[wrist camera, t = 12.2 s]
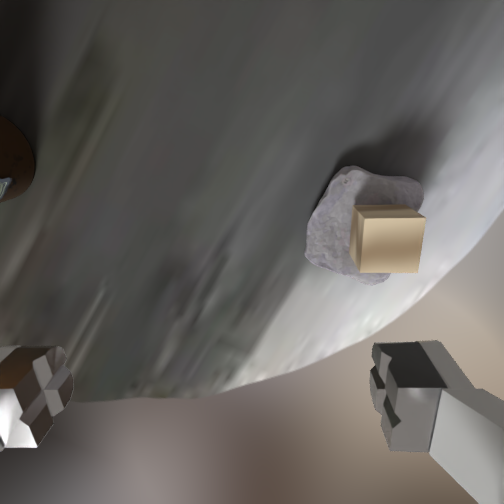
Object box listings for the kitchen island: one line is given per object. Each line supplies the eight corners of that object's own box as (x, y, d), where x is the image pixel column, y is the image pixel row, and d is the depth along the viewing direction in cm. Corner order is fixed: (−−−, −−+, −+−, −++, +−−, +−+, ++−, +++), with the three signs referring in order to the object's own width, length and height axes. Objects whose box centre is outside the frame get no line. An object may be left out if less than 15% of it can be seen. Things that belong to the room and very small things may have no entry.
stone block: (299, 253, 42) (381, 280, 40) (294, 266, 37) (386, 296, 36) (330, 155, 38) (422, 180, 36) (328, 155, 33) (434, 184, 32)
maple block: (352, 205, 33) (364, 218, 29) (405, 204, 33) (426, 217, 28) (348, 252, 35) (360, 272, 31) (398, 252, 35) (417, 272, 30)
